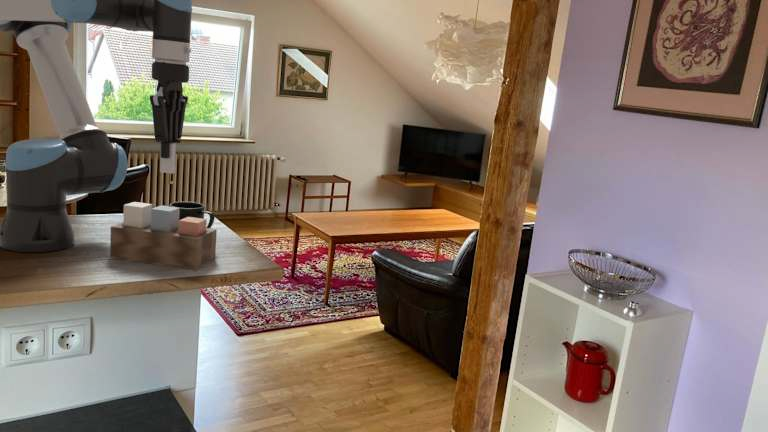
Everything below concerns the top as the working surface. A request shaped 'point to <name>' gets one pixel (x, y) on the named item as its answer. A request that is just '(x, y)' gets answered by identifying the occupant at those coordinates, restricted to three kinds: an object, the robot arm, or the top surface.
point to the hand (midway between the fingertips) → (167, 172)
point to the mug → (192, 211)
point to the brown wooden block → (162, 246)
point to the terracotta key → (192, 226)
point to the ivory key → (137, 214)
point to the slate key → (165, 218)
